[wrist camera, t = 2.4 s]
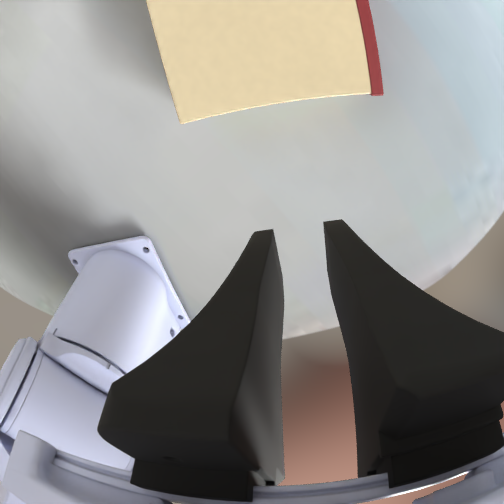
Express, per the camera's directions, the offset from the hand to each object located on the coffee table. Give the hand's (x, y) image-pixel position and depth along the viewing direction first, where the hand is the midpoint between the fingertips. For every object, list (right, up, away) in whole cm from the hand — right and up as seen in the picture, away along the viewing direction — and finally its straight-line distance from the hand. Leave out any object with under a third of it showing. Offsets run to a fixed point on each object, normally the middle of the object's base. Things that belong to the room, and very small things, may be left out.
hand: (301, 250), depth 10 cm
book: (-2, +13, +1) cm, 13 cm away
